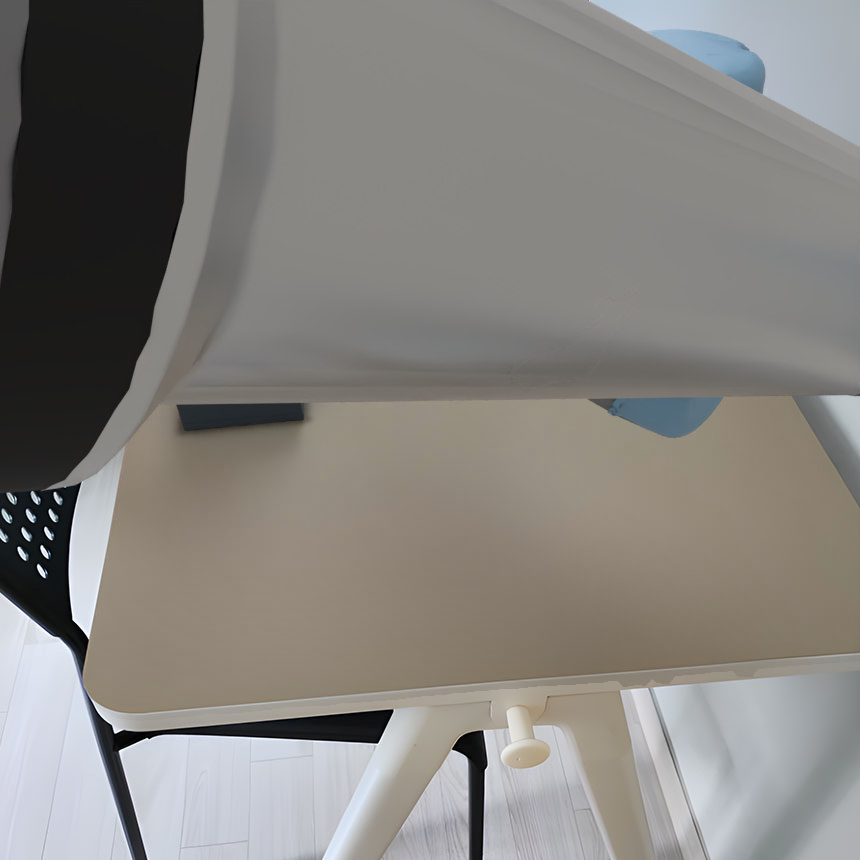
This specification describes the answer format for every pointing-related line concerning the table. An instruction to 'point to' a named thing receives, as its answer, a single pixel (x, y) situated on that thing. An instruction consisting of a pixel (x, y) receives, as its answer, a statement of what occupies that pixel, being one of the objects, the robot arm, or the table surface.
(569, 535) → the table surface
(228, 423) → the open box
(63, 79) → the robot arm
